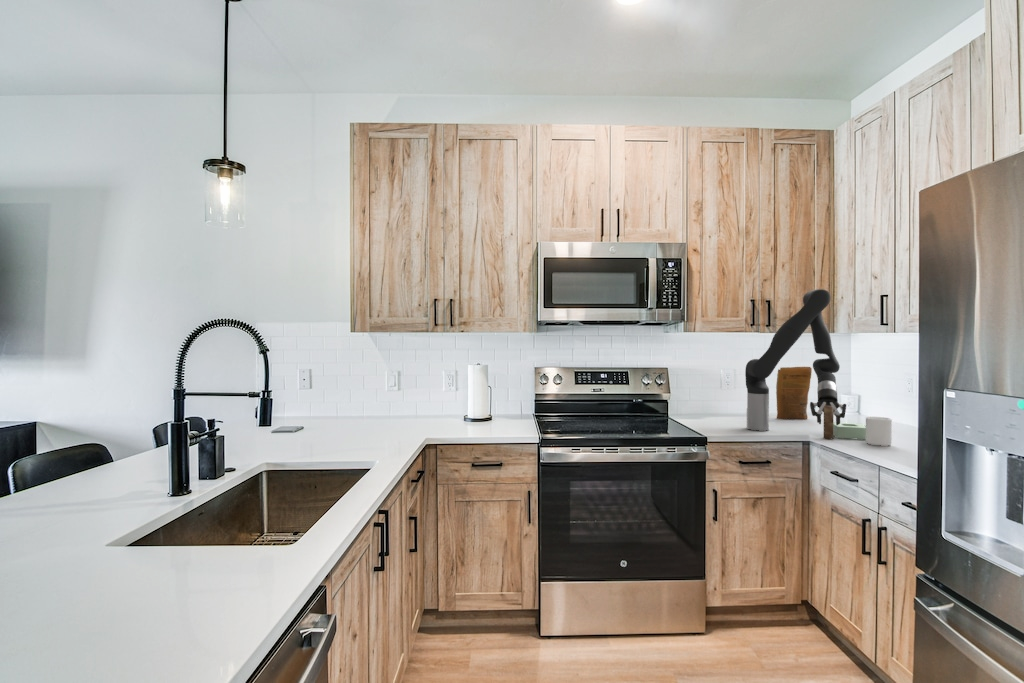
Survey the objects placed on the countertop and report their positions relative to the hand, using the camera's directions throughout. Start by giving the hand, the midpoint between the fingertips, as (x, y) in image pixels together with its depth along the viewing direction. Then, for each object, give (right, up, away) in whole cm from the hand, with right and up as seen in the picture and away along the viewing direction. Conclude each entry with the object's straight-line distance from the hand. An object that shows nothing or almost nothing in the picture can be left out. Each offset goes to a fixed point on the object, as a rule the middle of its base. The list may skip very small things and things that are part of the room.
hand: (828, 423), depth 221 cm
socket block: (+13, -7, +6) cm, 16 cm away
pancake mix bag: (+14, -6, +54) cm, 56 cm away
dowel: (+1, -7, +2) cm, 7 cm away
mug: (+14, -7, -9) cm, 18 cm away
